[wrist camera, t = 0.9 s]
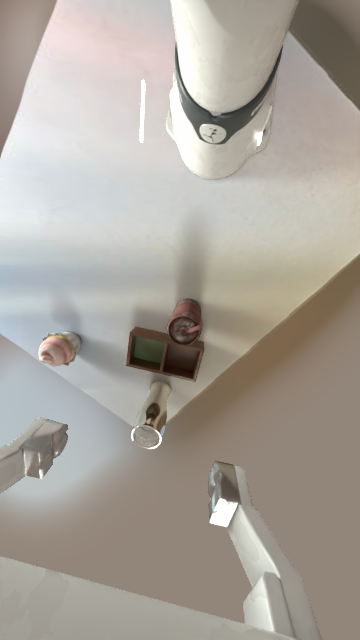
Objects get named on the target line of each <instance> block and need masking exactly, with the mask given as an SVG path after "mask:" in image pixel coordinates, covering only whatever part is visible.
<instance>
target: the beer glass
mask: <svg viewBox="0 0 360 640" xmlns="http://www.w3.org/2000/svg"><path fill="white" fill-rule="evenodd" d="M170 393H171V389H170V387H169V385H168V384H167V383H165V382H162V381H156V382H154V383H153V384H152V385H151V387H150V392H149V396H148V398H147V399H146V401H145V402H144V404H143V405H142V407H141V409H140V410H139V412H138V415H137V417H136V420H135V423H134V426H133V430H132V432H131V438H132V440H133V442H134V443H135V444H136V445H138V446H140V447H142V448H145V449H152V448H155V447H157V446H158V445H159V444H160V443H161V439H162V436H163V433H164V429H165V425H166V419H167V400H168V398H169V396H170Z"/></svg>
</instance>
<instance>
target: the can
mask: <svg viewBox="0 0 360 640" xmlns="http://www.w3.org/2000/svg"><path fill="white" fill-rule="evenodd" d="M201 326H202V320H201V309H200V306H199V304H198V303H197V302H196V301H194V300H192V299H183V300H182V301H180V302H179V303H178V304H177V306H176V308H175V310H174V312H173V314H172V316H171V318H170V320H169V322H168V324H167V333H168V335H169V337H170V339H171V340H172V341H173V342H174V343H176V344H178V345H183V346H185V345H190V344H192V343H194V342H195V341H196V340H197V339H198V338H199V336H200V334H201Z"/></svg>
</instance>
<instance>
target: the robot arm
mask: <svg viewBox="0 0 360 640" xmlns="http://www.w3.org/2000/svg"><path fill="white" fill-rule="evenodd" d="M170 2H171V8H172V14H173V21H174V27H175V35H176V46H175V68H174V71H173V81H174V85H173V88H172V89H171V90H170V102H171V105H170V109H169V112H168V116H167V119H166V128H167V131H168V133H169V134H170V135H171V137H172V138H173V139H174V140H175V141H176V143H177V145H178V148H179V151H180V154H181V156H182V158H183V160H184V162H185V164H186V165H187V167H188V168H189V169H190V170H191V171H192V172H193V173H195V174H196V175H198V176H200V177H202V178H205V179H221V178H224V177H227V176H229V175H231V174H232V173H234V172H235V171H237V170H238V169H239V168H240V167H241V166H242V165H243V164H244V163H245V162H246V160H247V159H248V158H249V157H250V156H252V155H254V154H256V153H258V152H260V151H261V150H263V149H264V148H265V147H266V146H267V143H268V141H269V136H270V128H271V120H272V111H273V103H274V95H275V87H276V78H277V70H278V65H279V62H280V58H281V53H282V48H283V42H284V40H285V37H286V34H287V32H288V29H289V27H290V24H291V21H292V19H293V16H294V13H295V11H296V8H297V6H298V3H299V0H170ZM144 100H145V82H144V80H142V97H141V123H140V141H141V143H143V124H144ZM263 131H264V134H262V133H263ZM67 429H68V425H67V424H63V423H59V422H56V421H52V420H49V419H45V418H41V417H40V418H38V419H36V420H35V421H34V422H33V423H32V424H31V425H30V426H29V427H28V428H27V429H26V430H25V431H24V432H23V433H21V434H20V435H19V436H18V437H17V438H16V439H15V440H14V441H13V442H12V443H11V444H10V445H9V446H8V445H5V446H3V447H1V448H0V494H1V493H2V492H4V491H5V490H7V489H8V488H9V487H11V486H12V485H14V484H15V483H16V482H18V481H19V480H21V479H22V478H23V477H25V475H26V476H31V477H36V478H40V479H42V478H43V477H44V476H45V474H46V473H47V472H48V470H49V469H50V467H51V466H52V465H53V459H54V458H56V457H57V456H59V455H60V454H61V452H62V451H63V449H64V447H65V445H66V443H67V440H68V435H67V434H66V431H67ZM208 493H209V496H210V497H211V500H210V502H209V522H210V523H213V524H217V525H220V526H224V527H227V530H228V532H229V535H230V537H231V539H232V542H233V544H234V546H235V548H236V551H237V553H238V556H239V558H240V560H241V562H242V565H243V567H244V569H245V572H246V574H247V576H248V579H249V581H250V583H251V586H252V588H253V589H252V590H251V592H250V593H249V595H248V596H247V598H246V599H245V601H244V603H243V609H244V616H245V624H243V623H239V622H235V621H232V620H228V619H224V618H221V617H217V616H213V615H210V614H206V613H203V612H199V611H196V610H192V609H189V608H185V607H182V606H178V605H174V604H170V603H167V602H163V601H160V600H156V599H153V598H149V597H145V596H142V595H138V594H135V593H131V592H127V591H124V590H120V589H117V588H113V587H109V586H106V585H102V584H98V583H95V582H92V581H88V580H84V579H81V578H77V577H74V576H70V575H66V574H62V573H59V572H55V571H52V570H48V569H45V568H41V567H38V566H34V565H30V564H27V563H23V562H20V561H16V560H12V559H9V558H5V557H1V556H0V640H322V637H321V634H320V631H319V628H318V625H317V622H316V619H315V616H314V613H313V610H312V607H311V603H310V600H309V597H308V594H307V591H306V588H305V585H304V582H303V580H302V578H301V577H300V575H299V573H298V572H297V570H296V569H295V567H294V566H293V564H292V563H291V561H290V560H289V558H288V556H287V555H286V553H285V552H284V550H283V549H282V547H281V546H280V544H279V543H278V541H277V540H276V538H275V536H274V535H273V533H272V532H271V530H270V529H269V527H268V526H267V524H266V523H265V521H264V520H263V518H262V517H261V515H260V513H259V512H258V511H257V509H256V508H253V504H252V499H251V495H250V491H249V486H248V482H247V478H246V473H245V470H244V468H243V467H239V466H234V465H231V464H227V463H222V462H218V461H214V463H213V470H211V471H210V474H209V480H208Z"/></svg>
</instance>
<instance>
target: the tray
mask: <svg viewBox="0 0 360 640" xmlns="http://www.w3.org/2000/svg"><path fill="white" fill-rule="evenodd" d="M203 352H204V342H202V341H197V340H196V341H195V342H194V343H192V344H190V345H185V346H183V345H178V344H176V343H174V342H173V341H172V340H171V339H170V337H169V335H168V334H166V333H162V332H157V331H153V330H148V329H144V328H139V327H135V328H134V329H133V330H132V331H131V332H130V336H129V345H128V354H127V362H126V366H130V367H134V368H138V369H143V370H147V371H151V372H156V373H160V374H164V375H168V376H173V377H177V378H181V379H186V380H190V381H194V382H196V378H197V374H198V371H199V367H200V363H201V360H202V356H203Z"/></svg>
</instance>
